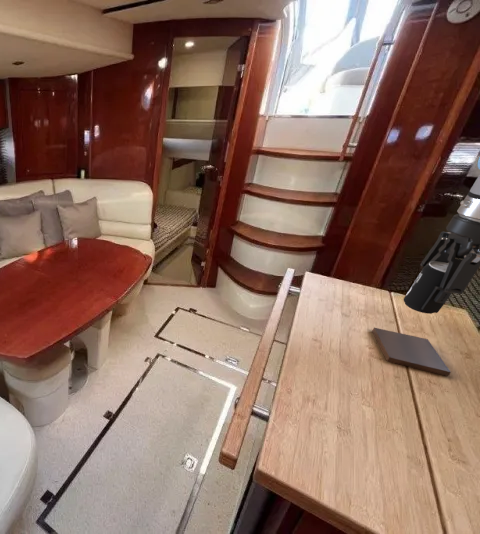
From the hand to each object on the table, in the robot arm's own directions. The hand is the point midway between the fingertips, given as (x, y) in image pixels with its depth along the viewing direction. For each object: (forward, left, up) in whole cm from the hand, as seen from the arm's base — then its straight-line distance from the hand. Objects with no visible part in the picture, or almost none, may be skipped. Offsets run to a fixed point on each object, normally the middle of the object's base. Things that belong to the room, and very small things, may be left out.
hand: (422, 302), depth 78 cm
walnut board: (-3, 0, -16) cm, 16 cm away
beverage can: (0, 0, -2) cm, 2 cm away
